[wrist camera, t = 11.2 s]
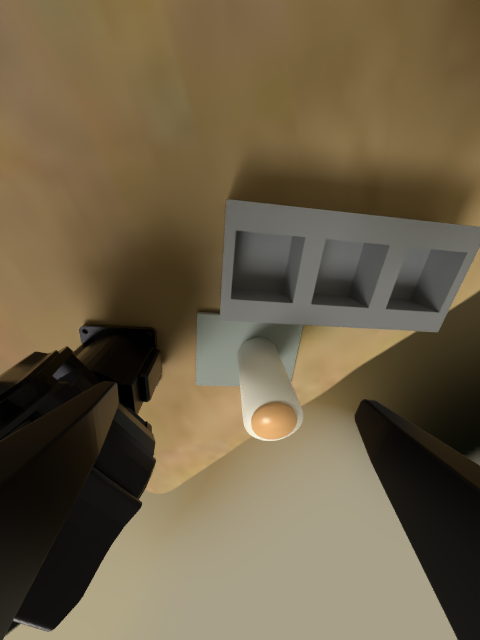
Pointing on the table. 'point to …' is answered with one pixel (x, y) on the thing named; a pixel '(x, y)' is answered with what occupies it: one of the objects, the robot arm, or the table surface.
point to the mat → (237, 346)
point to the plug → (266, 392)
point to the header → (340, 267)
